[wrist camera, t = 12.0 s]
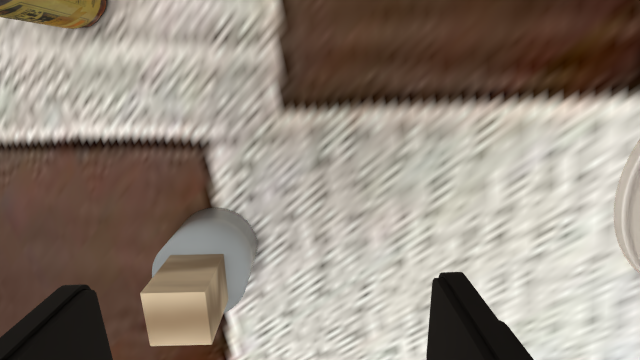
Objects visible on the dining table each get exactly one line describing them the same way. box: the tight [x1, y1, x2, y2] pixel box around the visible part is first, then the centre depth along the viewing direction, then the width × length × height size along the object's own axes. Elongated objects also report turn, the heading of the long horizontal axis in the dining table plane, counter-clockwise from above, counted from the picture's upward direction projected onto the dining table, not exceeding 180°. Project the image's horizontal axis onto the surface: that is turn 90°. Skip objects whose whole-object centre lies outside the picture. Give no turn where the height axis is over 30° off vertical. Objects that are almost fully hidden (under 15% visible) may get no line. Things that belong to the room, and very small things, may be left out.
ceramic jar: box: [152, 208, 257, 313], centre depth 37 cm, size 9×9×7 cm
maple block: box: [140, 254, 228, 346], centre depth 31 cm, size 5×5×6 cm
